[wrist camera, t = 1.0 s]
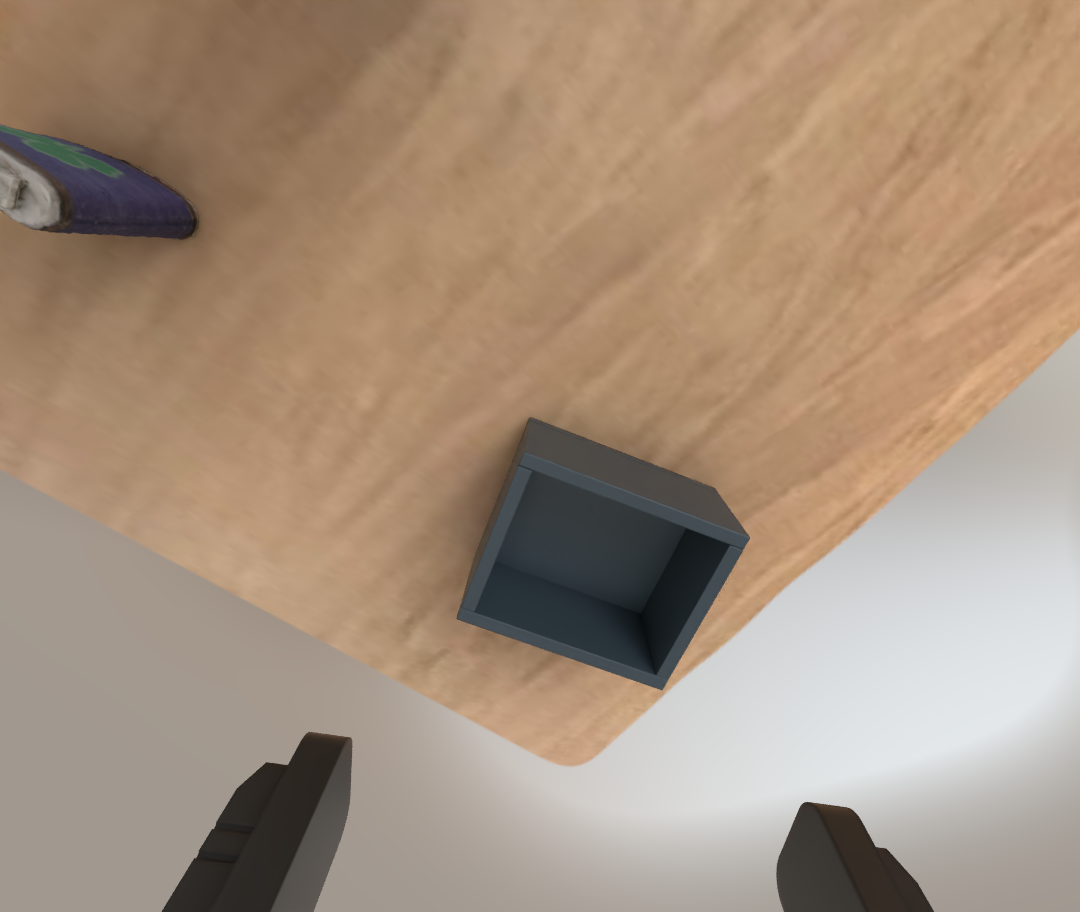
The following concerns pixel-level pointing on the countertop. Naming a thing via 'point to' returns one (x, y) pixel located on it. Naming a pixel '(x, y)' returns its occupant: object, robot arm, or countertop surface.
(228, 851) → the robot arm
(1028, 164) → the countertop surface
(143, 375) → the countertop surface
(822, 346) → the countertop surface
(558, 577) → the box
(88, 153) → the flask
